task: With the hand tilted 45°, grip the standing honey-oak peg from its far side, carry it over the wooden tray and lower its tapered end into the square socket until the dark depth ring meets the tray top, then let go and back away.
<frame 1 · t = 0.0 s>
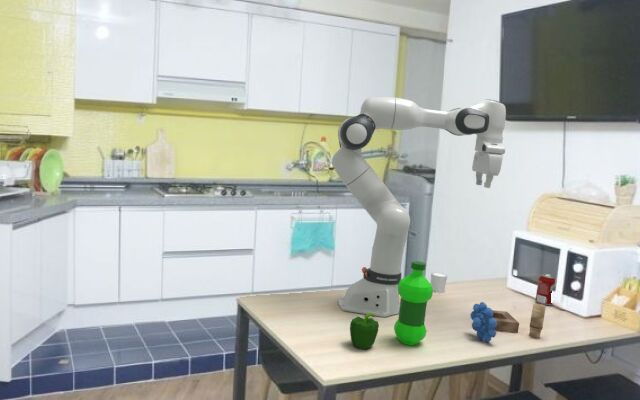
hand: (482, 186, 193), 48 cm above the table, tool pointing down, fingers open, 8 cm apart
grapes: (478, 340, 177), on the table
bell pepper: (362, 346, 162), on the table
oak peg: (534, 336, 186), on the table
plastic bottle: (408, 342, 169), on the table
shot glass: (437, 291, 231), on the table
soda can: (543, 304, 228), on the table
wooden tray: (494, 325, 193), on the table
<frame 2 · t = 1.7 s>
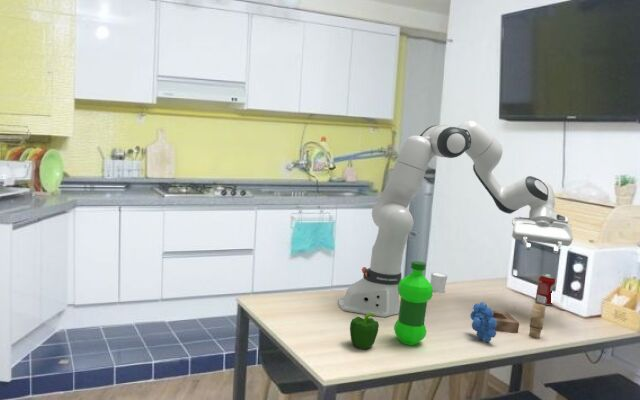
hand: (541, 250, 194), 28 cm above the table, tool tilted 45°, fingers open, 8 cm apart
nothing on the table moved.
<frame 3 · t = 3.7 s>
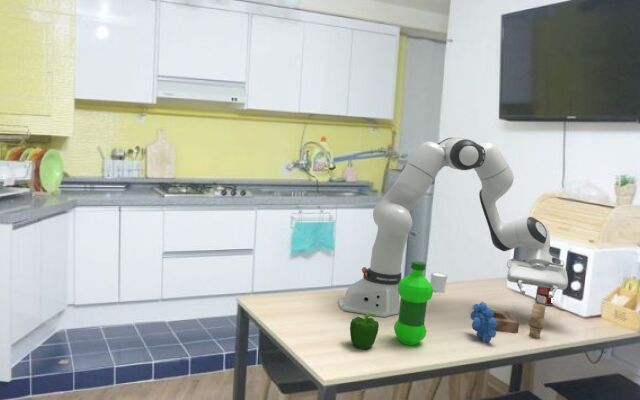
hand: (536, 295, 192), 12 cm above the table, tool tilted 45°, fingers open, 8 cm apart
nothing on the table moved.
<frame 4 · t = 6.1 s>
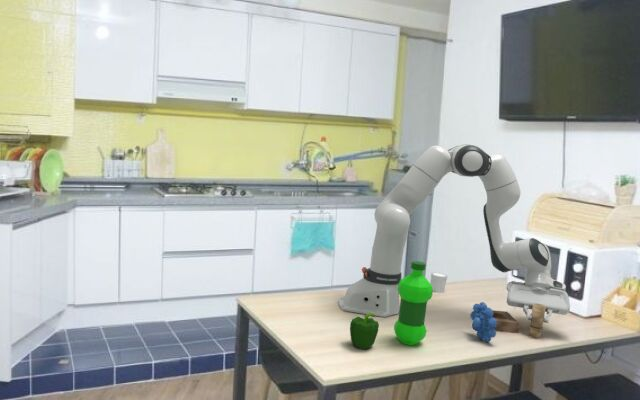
hand: (537, 320, 185), 6 cm above the table, tool tilted 45°, fingers closed on oak peg, 4 cm apart
oak peg: (534, 336, 186), on the table, touching gripper
everything else where it was.
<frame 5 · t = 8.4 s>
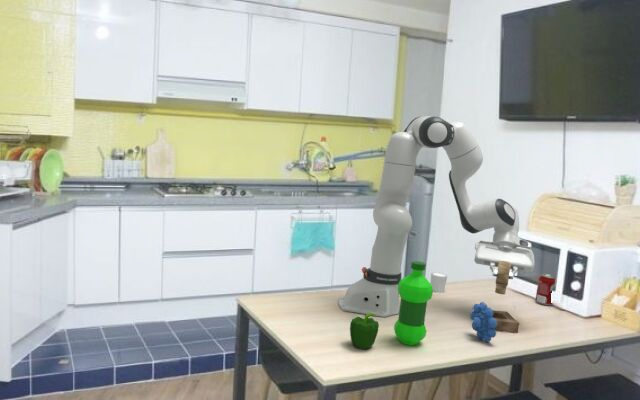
hand: (502, 276, 190), 18 cm above the table, tool tilted 45°, fingers closed on oak peg, 4 cm apart
oak peg: (500, 292, 192), point 12 cm above the table, touching gripper
everything else where it was.
when the fingers open (7 cm above the table, at t = 11.0 s): oak peg stays where it is, resting in wooden tray.
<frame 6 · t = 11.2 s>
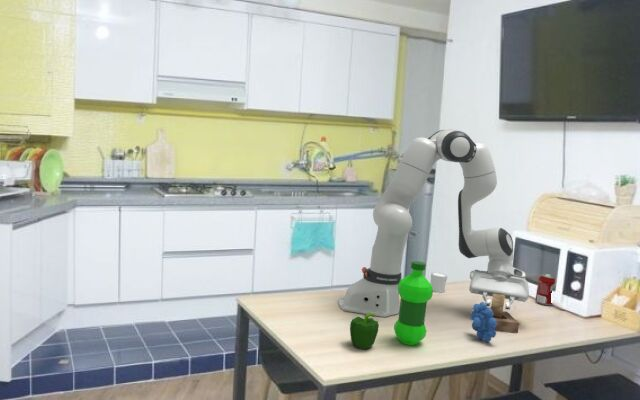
hand: (497, 306, 192), 7 cm above the table, tool tilted 45°, fingers open, 5 cm apart
oak peg: (494, 325, 194), resting in wooden tray
everything else where it was.
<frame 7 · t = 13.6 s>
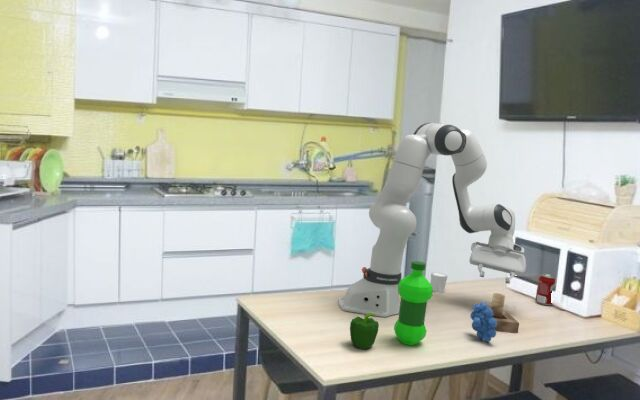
hand: (494, 279, 203), 14 cm above the table, tool tilted 40°, fingers open, 8 cm apart
nothing on the table moved.
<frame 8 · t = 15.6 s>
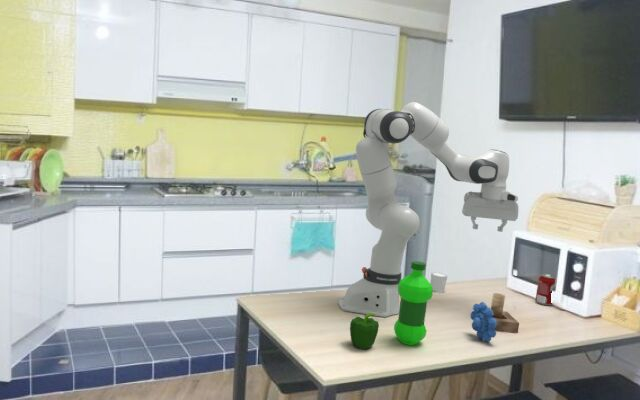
hand: (487, 230, 205), 31 cm above the table, tool pointing down, fingers open, 8 cm apart
nothing on the table moved.
at the end: oak peg 0.1 cm off-centre on the wooden tray, point 0.0 cm above the wooden tray's base; oak peg tilted 0°; the gripper is holding nothing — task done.
